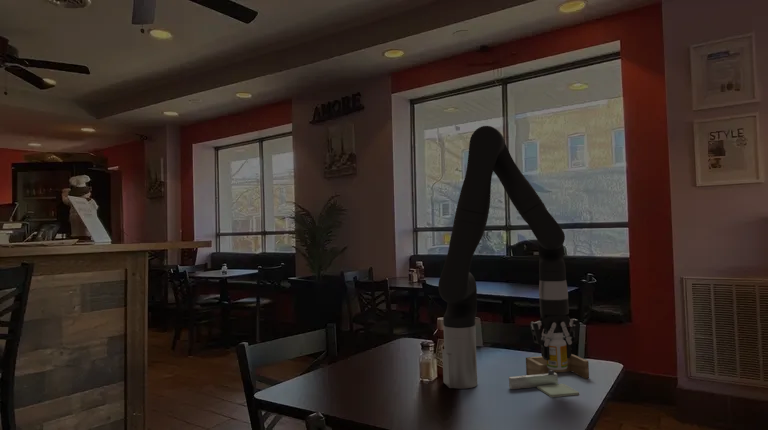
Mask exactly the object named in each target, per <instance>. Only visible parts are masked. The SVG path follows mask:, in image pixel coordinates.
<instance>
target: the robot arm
mask: <svg viewBox="0 0 768 430" xmlns="http://www.w3.org/2000/svg"><path fill="white" fill-rule="evenodd" d="M468 144H469V145H468V156H467V162H466V172H465V176H464V179H463V182H462V186H461V189H460V192H459V196H458V202H457V205H456V208H455V209H456V210H455V215H454V219H453V225H452V229H451V230H452V231H451V234H450V241H449V245H448V251H447V254H446V258H445V261H444V264H443V267H442V270H441V274H440V277H439V280H438V286H437V287H438V288H437V289H438V293H439V296H440V298H441V299H442V300H443V301H445V303H447V307H446V310H445V312H444V314H443V318H442V323H443V347H444V349H442V350H441V351H442V353H441V354H442V379H443V384H445V385H446V387H448V389H459V390H460V389H472V388H475V387H476V386H478V365H477V364H478V362H477V340H476V339H477V338H476V336H477V333H476V317H477V313H478V291H477V290H478V289H477V282H476V279H475V277H474V275H473V274H472V273H471V272H470V271H471V263H472V260H473V256H474V254H475V253H476V250H477V248H478V246H479V244H480V242H481V240H482V238H483V236H484V233H485V230H486V227H487V222H488V219H489V213H490V208H491V197H492V196H491V194H492V193H491V191H492V189H491V188H492V178H493V173H494V174H495V175H496V177H497V179H498V180H499V181H500V183H501V185H502V187H503V189H504V190H505V193H506V194H507V197H508V198H509V200H510V202H511V203H512V205H513V207H514V208H515V209H516V212H518V214H519V215H520V217H521V219H523V221H524V222H525V223H526V224H527V225H528V227H529V229H530V230H531V232H532V234H533V235H534V237H535V239H536V240H537V241H536V242H537V251H538V258H539V264H538V275H539V277H538V279H539V282H538V283H539V286H538V297H539V313H540V319H539V320H537V321H535V322H534V321H530V322H529V326H530V327H529V328H530V331H531V334H532V340H533V343H535V344H537V345H539V346H540V350H541V351H540V352H541V354H540V356H542V357H543V358H544V359H545V360H549V347H548V344H549V341H550V339H551V338H552V335H553V333H561V332H563V338H562V339H563V340H565V341H566V346H567V358H570V356H571V354H572V344H573V343H577V342H578V340H579V332H580V324H581V321H580V320H579V319H576V318H570V316H569V313H570V311H569V310H570V308H569V307H570V305H569V291H568V290H569V289H568V283H567V271H566V268H567V267H566V262H565V260H564V243H565V241H566V237H565V236H566V235H565V231H564V230H563V228H562V227H561V226H560V224H559V223H558V222H557V220H556V219H555V218H554V217H553V215H552V214H551V213H550V212H549V210H548V209H547V207H546V205H545V203H544V202H543V200H542V199H541V197H540V196H539V194H538V192H537V191H536V190H535V188H534V187H533V186H532V185H531V183H530V182H529V180H528V179H527V177H525V175H524V174H523V173H522V172H521V170H520V168H519V166H517V164H516V162H515V160H514V159H513V157H512V155H511V153H510V151H509V149H508V145H507V144H506V142H505V138H504V136H503V134H502V133H501V132H500V131H499V129H497V128H496V127H493V126H492V125H482V126H480V127H478V128H476V129H475V130H474V131H473V132H472V134H471V136H470V138H469V143H468ZM569 326H570V328H569V329H570V330H569V331H568V327H569ZM541 327H542V328H543V329H542V332H540V330H541Z"/></svg>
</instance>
